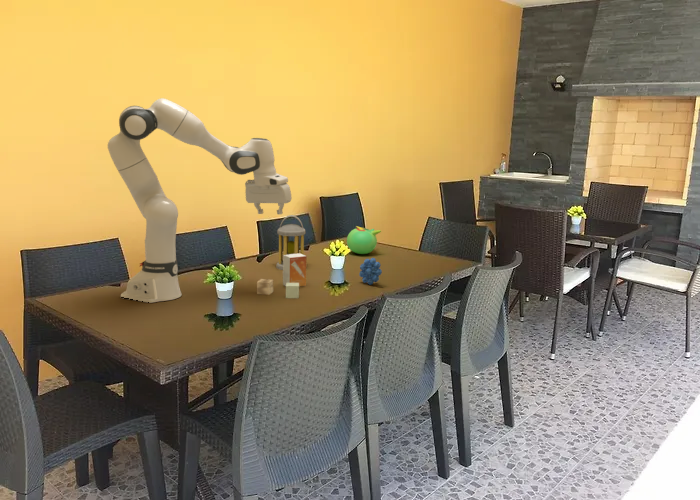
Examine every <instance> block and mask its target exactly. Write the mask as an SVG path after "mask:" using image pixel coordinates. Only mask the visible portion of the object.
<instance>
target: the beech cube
mask: <svg viewBox="0 0 700 500" xmlns="http://www.w3.org/2000/svg"><path fill="white" fill-rule="evenodd" d="M273 292H274V279H268V278H267V279H265V278H260V279H259V280H258V281H257V282H256V294H257V295H266V296H270V295H271V294H272V293H273Z"/></svg>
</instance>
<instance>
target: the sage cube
mask: <svg viewBox="0 0 700 500" xmlns="http://www.w3.org/2000/svg"><path fill="white" fill-rule="evenodd" d="M299 297H300V287H299V283H286V286H285V299H299Z"/></svg>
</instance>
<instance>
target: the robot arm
mask: <svg viewBox="0 0 700 500" xmlns="http://www.w3.org/2000/svg"><path fill="white" fill-rule="evenodd" d="M118 124H119V125H118V126H119V129H120V131H119V133H118V134H115V135H114V136H112V137H111V138H110V139H109V141H107V149H108V153H109V155H110V158H111V160H112V162H113V164H114V166H115V168H116V170H117V172H118V173H119V175H120V176H121V179H122V180H123V182H124V183H125V185H126V188H127V189H128V190H129V192H130V195H131V196H132V198H133V200H134V203H135V204H136V206H137V208H138V209H139V211H140V213H141V214H142V217H143V218H144V219H145V221H146V222H145V223H146V225H145V226H146V227H145V238H144V250H145V251H144V253H145V256H144V257H145V260H143V261H142V262H141V263H139V267H142V268H141V270H140V271H139V272H137V273H136V274H135V275H133V276H132V277H131V278H130V279H129V280H128V282H127V284H126V290H125V291H123V292H122V293H121V294H120V298H121V297H124V298H129V299H128V300H130V299H133V300H132V301H136V300H138V301H137V302H142V301H143V302H142V303H148V302H149V303H152V304H153V303H156V302H157V303H158V302H164V301H172V300H175V299H178V298H180V297H181V296H183V294H182V291H181V289H180V283H179V279H178V271H179V270H178V260H177V255H176V253H177V251H176V236H177V228H178V219H179V210H178V207H177V204H175V202H174V201H173V200H171V199H170V198H168V197H167V195H166V194H165V192H164V190H163V187H162V185H161V183H160V181H159V179H158V176H157V174H156V172H155V170H154V168H153V167H152V165H151V163H150V161H149V160H148V157H147V155H146V154H145V152H144V150H143V149H142V146H141V140H143V139H145V138H148V136H150V135H151V134H152V133H153V132H154V131H155V130H157V129H158V130H161V131H163V132H165V133H167V134H168V135H169V136H171V137H173V138H174V139H176V140H178V141H180V142H183V143H185V144H187V145H191V146H196V147H199V148H201V149H204V150H205V151H207V152H208V153H210V154H211V155H213V156H215V157H216V158H217V159H219V161H221V163H222V164H223V166H224V167H225V168H226V169H227V170H228V171H229V172H230V173H234V174H236V175H241V176H242V175H243V176H245V175H247V174H250V173H253V179H247V180H246V181H245V183H244V187H245V190H244V191H245V192H244V194H245V201H246V203H247V204H253V205H254V207H255V209H256V210H257V214H258V215H263V214H264V208H262V207H261V204H277V205H278V209H276V214H277V215H282V214H283V209H284V207H285V204H288V203H290V202H291V201H292V192H291V187H290V185H289V183H288V182H289V177H287V176H285V175H282V174H280V173H278V172H277V170H276V169H277V168H276V166H275V153H274V149H273V145H272V143H271V141H270V139H267V138H264V137H263V138H262V137H253V138H250V139H249V141H248V142H247V143H245V144H244V145H242V146H240V147H238V146H231V145H229V144H226V143H225V142H224V141H222V140H221V139H219V138H217V137H216V136H214V135H213V134H212V133H210V132H209V131H208V129H207V128H206V125H205V124H204V122H203V121H202V120H201V119H200V118H199V117H198V116H196V115H195V114H194V113H193V112H191V111H189V110H188V109H187V108H185V107H183V106H181V105H180V104H178V103H176V102H174V101H172V100H169V99H167V98H165V97H162V98H161V97H160V98H158V99H156V100H155V101H153V103H152V104H151V105H150V107H148V108H145V107H143V106H140V105H130V106H128V107H125V109H124V110H122V111H121V113H120V115H119V119H118ZM124 298H123V299H124Z"/></svg>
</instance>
